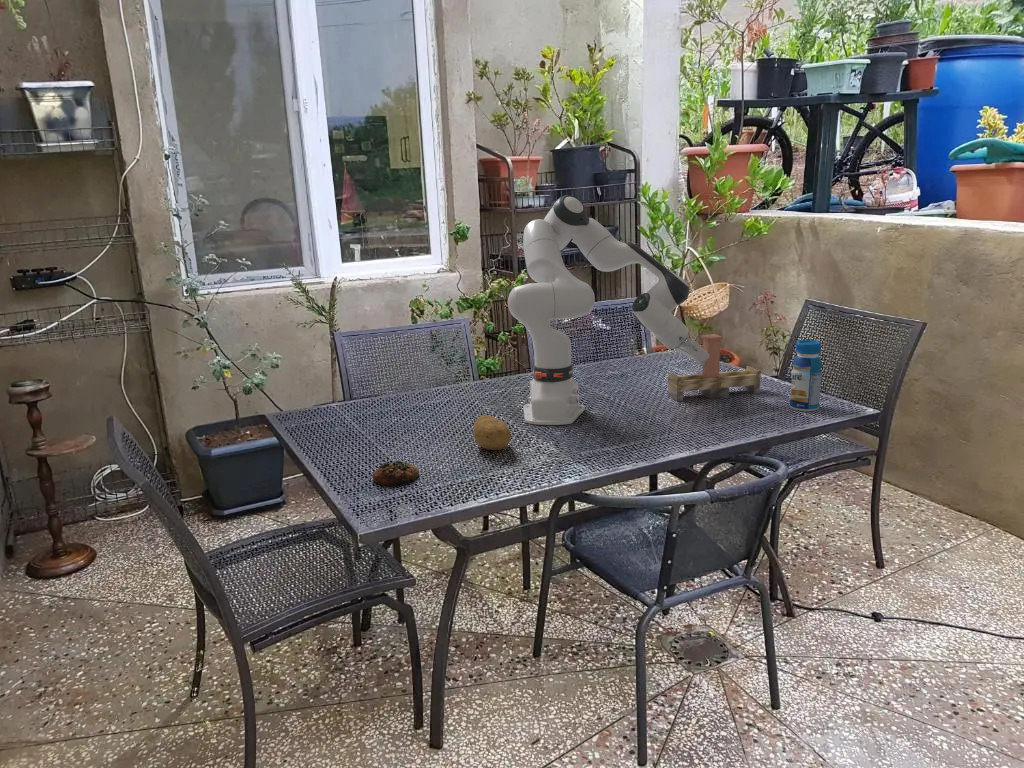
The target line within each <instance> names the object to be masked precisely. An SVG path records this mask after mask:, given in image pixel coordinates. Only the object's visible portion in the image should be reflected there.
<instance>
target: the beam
mask: <svg viewBox="0 0 1024 768" xmlns="http://www.w3.org/2000/svg"><path fill="white" fill-rule="evenodd" d="M761 375H762V371H761V370H759V369H757V368H755V367H753V366H751V365H746V369H743V370H742V369H741V370H733V371H719V377H714V378H703V379H702V373H699V374H687V375H686V374H685V375H677V374H675V373H673V372H668V377H667V378H668V379H667V396H669V397H670V398H671V399H672V398H673V400H674V401H675V402H683V401H684V398H683V397H684V392H691V391H692V392H693V391H694V392H695V391H698V392H699V393H700V394H702V395H704V396H705V397H707V398H709V399H710V400H716V399H726V398H730V388H736V387H737V388H738V387H742V388H743V390H745V391H747V392H749V393H751V394H752V395H758V393H761V378H762V377H761Z"/></svg>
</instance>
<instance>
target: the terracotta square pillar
mask: <svg viewBox="0 0 1024 768" xmlns="http://www.w3.org/2000/svg"><path fill="white" fill-rule="evenodd" d="M700 338H701V339H702V340H703V341H702V342H703V346H702V348H703V349H704V350H705V351H706V352H707V353H708V354H709V356H710V357H709V358H708V359H707V360H706V363H705V364H704V365H702V373H701V374H702V379H703V378H714V377H719V372H720V360H721V359H720V357H721V341H723V340H724V339H723V336H721V335H720V334H716V333H711V334H702V335H701V336H700Z"/></svg>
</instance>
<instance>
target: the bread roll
mask: <svg viewBox="0 0 1024 768" xmlns="http://www.w3.org/2000/svg"><path fill="white" fill-rule="evenodd" d="M419 473H420V469H419V468H418V467H417V466H416V465H414V464H412V463H410V462H407V461H401V460H400V461H399V460H395V461H394V460H393V462H391V461H390V462H385V463H383V464H381V465H379V467H378V469H376V470H375V471H374V472H373V474H372V475H373V477H372V480H373V481H374V482H375V483H376V484H379V485H380V486H381V485H382V486H386V487H400V486H404V485H407V484H410V483H412V482H414V481H415V480H416V478H418V477H419Z"/></svg>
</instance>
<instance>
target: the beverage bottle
mask: <svg viewBox="0 0 1024 768" xmlns="http://www.w3.org/2000/svg"><path fill="white" fill-rule="evenodd" d="M821 352H822V343H821V342H820V341H819V340H816V339H801V340H797V341H796V346H795V353H796V354H797V355H796V356H795V358H794V359H793V361H792V364H791V365H792V370H791V374H790V376H791V385H790V389H791V390H790V401H789V406H790V409H792V410H796V411H798V410H799V412H814V411H817V410H819V409H820V396H821V395H820V394H821V384H822V383H821V382H822V378H823V372H822V368H823V362H822V360H821V358H820V356H819V355H820V354H821Z"/></svg>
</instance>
